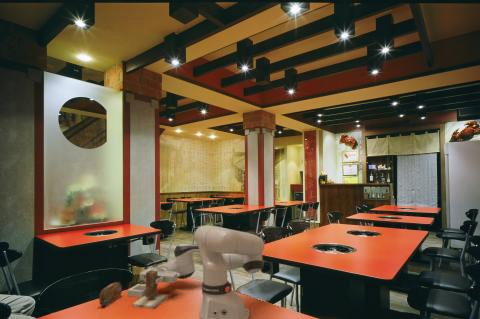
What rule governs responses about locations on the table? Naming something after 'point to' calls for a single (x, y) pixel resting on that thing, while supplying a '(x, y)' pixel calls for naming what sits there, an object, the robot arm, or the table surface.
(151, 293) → the peg
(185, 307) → the table surface
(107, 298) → the tin
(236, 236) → the robot arm
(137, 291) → the holder
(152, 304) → the board
